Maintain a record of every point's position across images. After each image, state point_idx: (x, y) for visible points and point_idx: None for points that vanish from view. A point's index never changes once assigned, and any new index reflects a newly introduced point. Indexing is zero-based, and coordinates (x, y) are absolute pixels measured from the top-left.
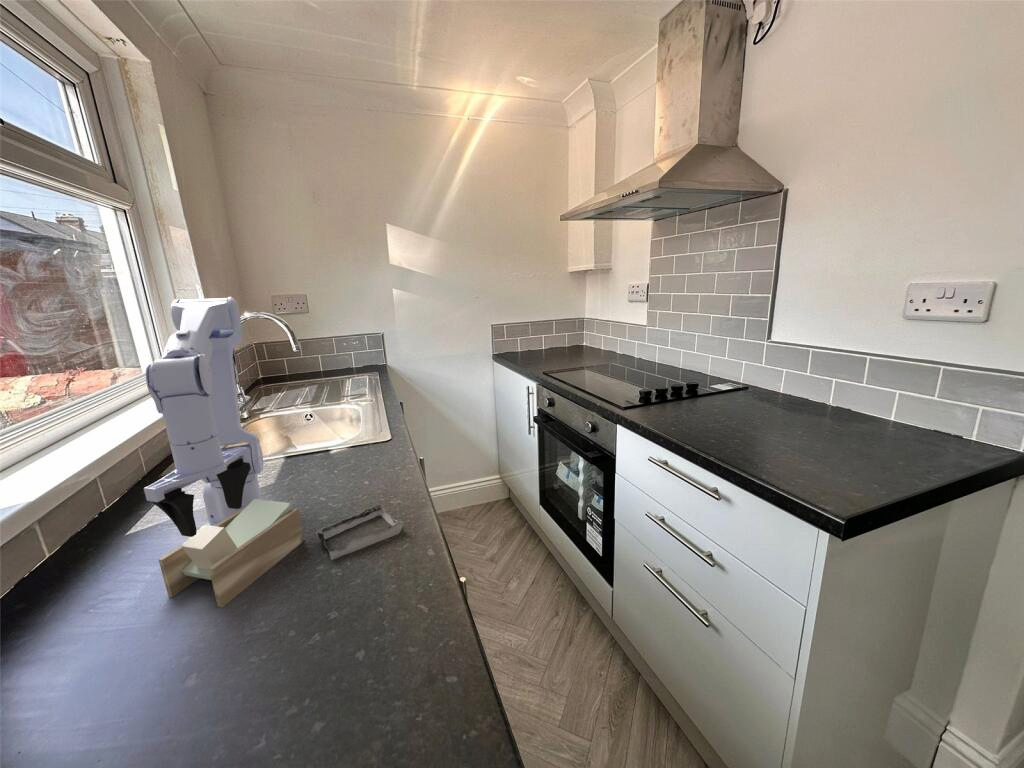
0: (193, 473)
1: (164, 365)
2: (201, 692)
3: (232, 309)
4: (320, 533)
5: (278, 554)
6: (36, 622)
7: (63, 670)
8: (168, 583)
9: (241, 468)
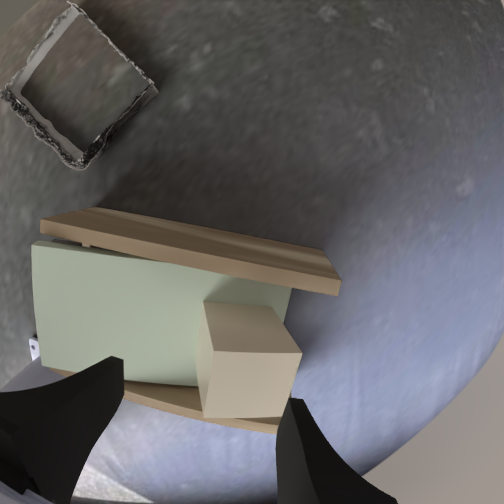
0: None
1: None
2: (480, 156)
3: None
4: (83, 159)
5: (159, 222)
6: None
7: (424, 389)
8: None
9: (1, 431)
